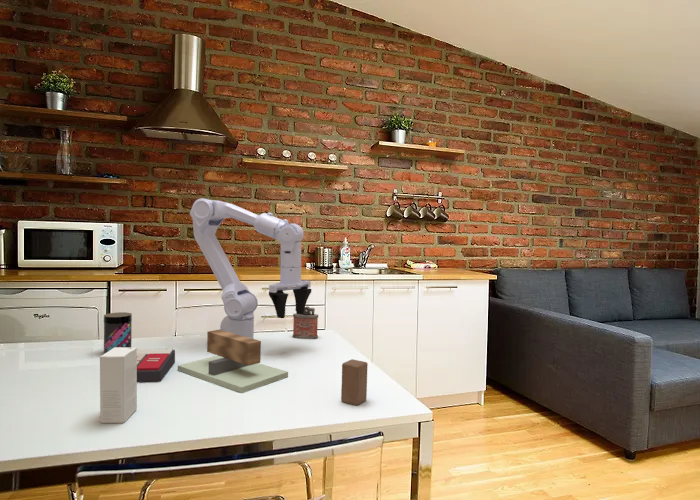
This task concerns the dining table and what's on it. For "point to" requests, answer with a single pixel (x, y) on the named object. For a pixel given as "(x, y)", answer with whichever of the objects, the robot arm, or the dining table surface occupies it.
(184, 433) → the dining table surface
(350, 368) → the wooden block
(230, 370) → the stand
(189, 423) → the dining table surface
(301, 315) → the lighter
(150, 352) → the red and black box
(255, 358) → the walnut batten
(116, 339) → the supplement container
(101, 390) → the skincare box
